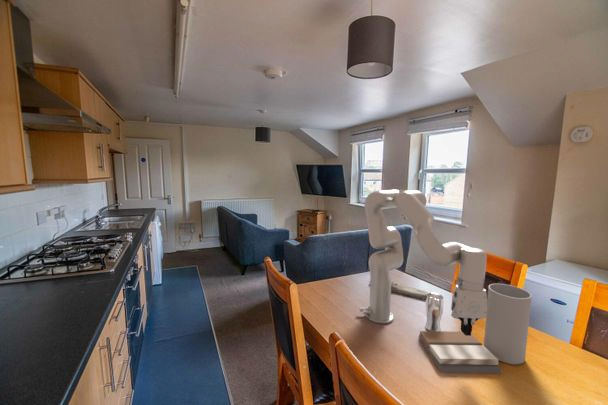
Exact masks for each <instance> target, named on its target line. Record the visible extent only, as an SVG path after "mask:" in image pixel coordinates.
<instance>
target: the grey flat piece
mask: <svg viewBox="0 0 608 405" xmlns="http://www.w3.org/2000/svg"><path fill="white" fill-rule="evenodd" d="M418 339H419V341H420V342H421V343H422V345H423V346H424V348H425V349H426V351H427V352H428V354H429V355H430V356H431V359H432V360H433V362H434V363H435V365H436V366H437V368H438V369H439V370H440V372H441V373H442V374H444V373H445V374H446V373H447V374H448V373H450V374H454V373H455V374H502V368H501V367H500V366H499V364H498V365H468V364H440V363H439V362H438V361H437V359H436V358H435V357H434V355H433V354H432V353H431V351H430V345H483V344H482V342H481V341H480V340H478V338H477V337H475V336H474V334H472V333H471V336H469V335H468V336H466V335H465V334H464V333H463V332H462V331H447V330H446V331H445V330H444V331H442V330H441V331H429V330H425V331H424V330H421V331H419V335H418Z"/></svg>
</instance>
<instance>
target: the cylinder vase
mask: <svg viewBox="0 0 608 405" xmlns="http://www.w3.org/2000/svg"><path fill="white" fill-rule="evenodd" d="M532 297H533V296H532V293H530V292H529V291H528V290H526V289H523V288H521V287H518V286H515V285H510V284H506V283H491V284H489V285H488V290H487V316H486V317H485V323H484V324H485V325H484V336H483V346H484V347H486V348H487V349H488V350H489V351H490V352H491V353H492V354H493V355H494V356H495V357H496V358H498V362H501V363H504V364H508V365H509V364H510V365H522V364H523V363H524V362H525V361H526V353H527V346H528V345H527V343H528V333H529V325H530V316H531V315H530V314H531V305H532Z"/></svg>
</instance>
